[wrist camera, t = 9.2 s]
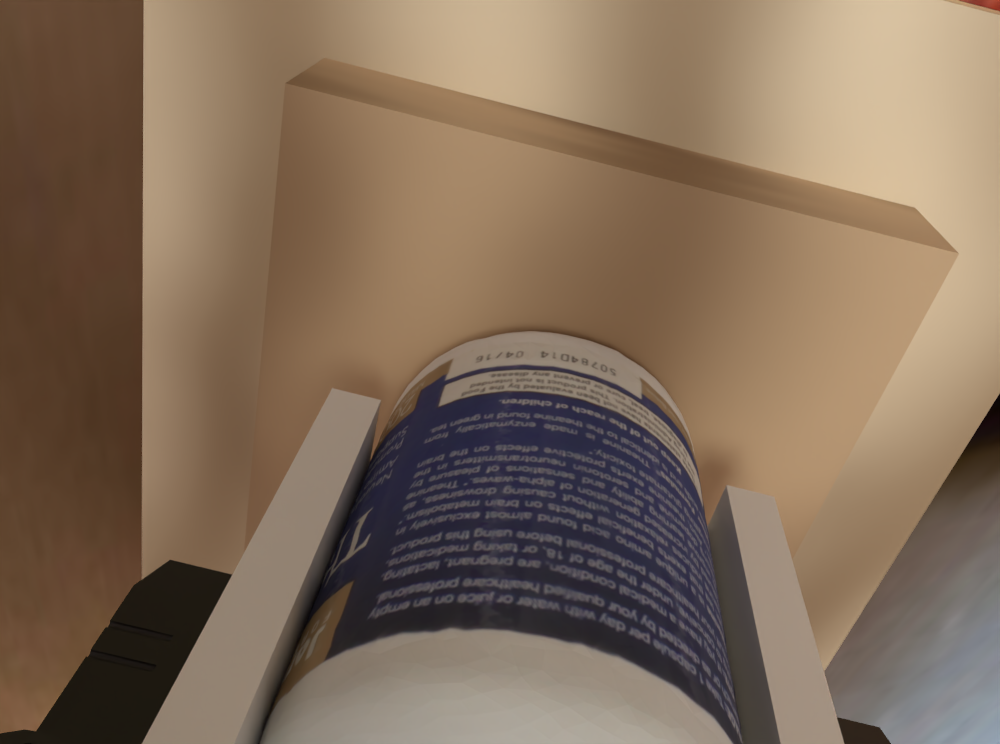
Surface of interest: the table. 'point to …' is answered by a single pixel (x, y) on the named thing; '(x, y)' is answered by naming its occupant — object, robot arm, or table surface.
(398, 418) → the pill bottle
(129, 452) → the table surface
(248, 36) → the base
